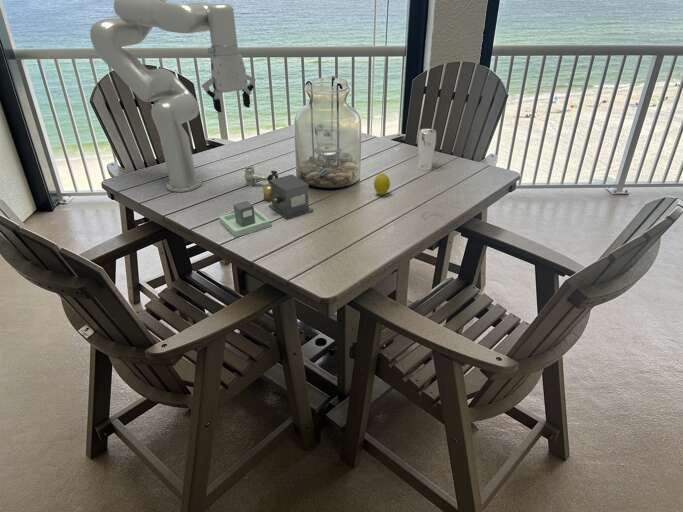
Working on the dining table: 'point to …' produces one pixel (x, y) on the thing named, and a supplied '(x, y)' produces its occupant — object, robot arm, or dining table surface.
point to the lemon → (381, 183)
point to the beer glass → (426, 148)
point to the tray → (238, 230)
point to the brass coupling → (267, 193)
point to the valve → (257, 176)
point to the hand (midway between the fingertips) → (232, 109)
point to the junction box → (289, 196)
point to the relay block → (244, 213)
